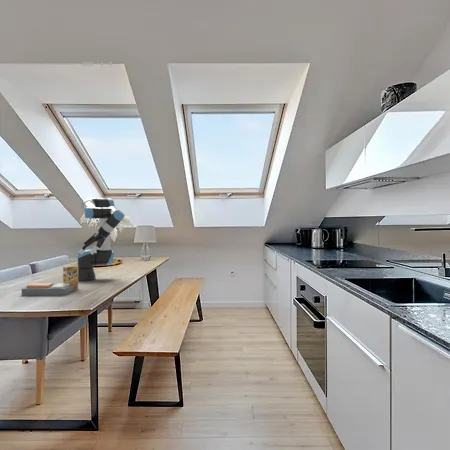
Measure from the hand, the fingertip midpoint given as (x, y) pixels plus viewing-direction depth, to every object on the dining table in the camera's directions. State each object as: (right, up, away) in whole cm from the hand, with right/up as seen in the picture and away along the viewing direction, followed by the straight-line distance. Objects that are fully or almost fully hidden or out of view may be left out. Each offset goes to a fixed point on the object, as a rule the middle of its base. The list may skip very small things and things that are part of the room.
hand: (85, 253), depth 235 cm
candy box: (-10, -25, +1) cm, 27 cm away
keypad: (-19, -24, -13) cm, 33 cm away
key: (-24, -21, -13) cm, 34 cm away
